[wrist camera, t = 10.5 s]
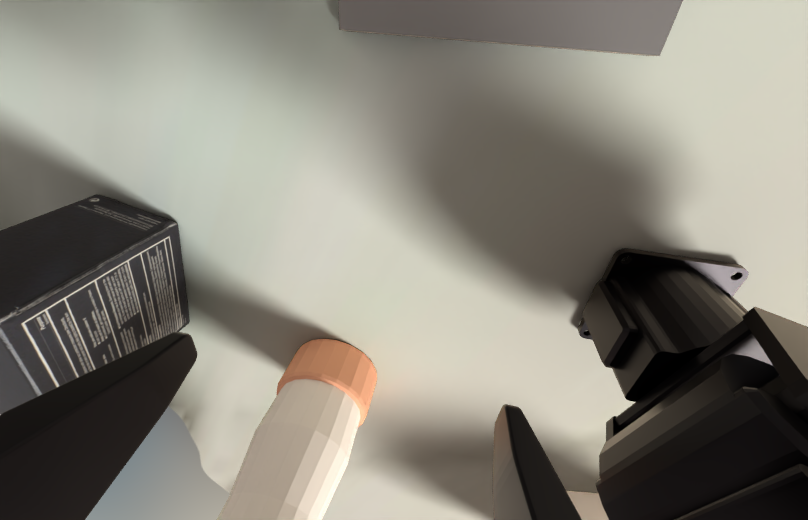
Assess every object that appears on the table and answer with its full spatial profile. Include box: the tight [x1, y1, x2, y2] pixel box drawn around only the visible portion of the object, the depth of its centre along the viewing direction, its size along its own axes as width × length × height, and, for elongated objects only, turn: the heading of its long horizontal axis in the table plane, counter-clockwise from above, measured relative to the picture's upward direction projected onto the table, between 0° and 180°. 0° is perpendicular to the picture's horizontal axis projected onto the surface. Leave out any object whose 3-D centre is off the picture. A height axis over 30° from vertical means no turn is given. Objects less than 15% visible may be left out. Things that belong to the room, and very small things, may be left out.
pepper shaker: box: [217, 339, 377, 520], centre depth 20 cm, size 7×7×19 cm
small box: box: [0, 195, 189, 414], centre depth 21 cm, size 11×6×10 cm, turn 164°
